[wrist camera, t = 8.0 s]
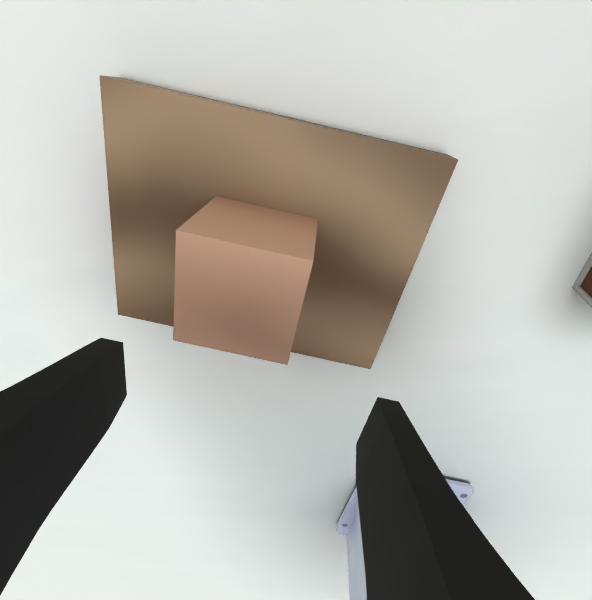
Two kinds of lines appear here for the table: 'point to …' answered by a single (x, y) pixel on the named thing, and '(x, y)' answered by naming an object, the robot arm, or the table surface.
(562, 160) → the table surface
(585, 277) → the food container
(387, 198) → the base board
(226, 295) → the terracotta cube
